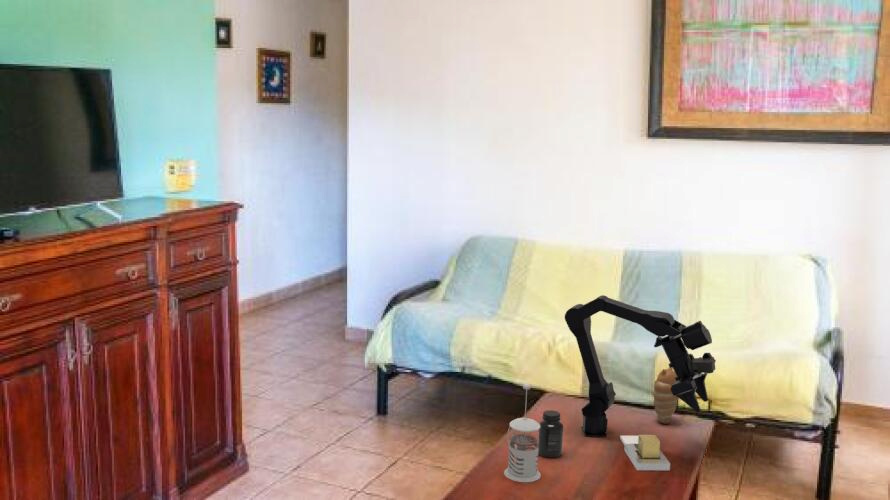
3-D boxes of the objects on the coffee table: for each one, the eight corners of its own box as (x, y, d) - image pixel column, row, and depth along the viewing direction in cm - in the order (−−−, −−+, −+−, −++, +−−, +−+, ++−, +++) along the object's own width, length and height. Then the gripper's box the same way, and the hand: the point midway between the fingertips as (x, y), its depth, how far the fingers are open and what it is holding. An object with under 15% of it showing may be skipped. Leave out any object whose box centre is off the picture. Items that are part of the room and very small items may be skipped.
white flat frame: (637, 470, 224) (637, 463, 224) (624, 450, 237) (624, 443, 237) (669, 470, 225) (670, 463, 224) (655, 450, 237) (655, 443, 237)
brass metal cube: (641, 465, 227) (643, 441, 226) (636, 458, 232) (638, 434, 231) (658, 465, 228) (660, 441, 226) (653, 458, 232) (654, 434, 231)
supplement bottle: (564, 451, 235) (567, 411, 233) (557, 460, 229) (560, 419, 227) (541, 446, 238) (544, 406, 235) (534, 455, 232) (536, 414, 229)
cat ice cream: (659, 415, 264) (664, 361, 261) (682, 422, 259) (686, 367, 255) (645, 422, 258) (649, 367, 254) (667, 430, 252) (672, 373, 249)
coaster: (627, 449, 237) (627, 446, 237) (619, 438, 245) (620, 435, 245) (654, 449, 238) (654, 447, 238) (646, 438, 246) (646, 435, 246)
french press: (516, 485, 214) (521, 392, 209) (493, 466, 224) (497, 378, 219) (548, 478, 218) (553, 387, 213) (524, 460, 228) (528, 373, 224)
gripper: (696, 355, 221) (722, 408, 220) (711, 337, 237) (736, 387, 236) (659, 368, 227) (684, 420, 226) (676, 350, 243) (700, 399, 242)
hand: (702, 406), depth 232 cm, fingers open, 9 cm apart
